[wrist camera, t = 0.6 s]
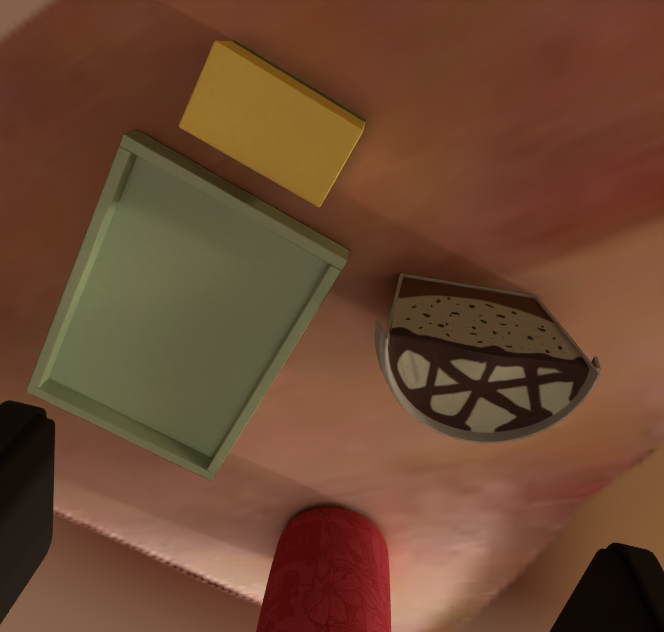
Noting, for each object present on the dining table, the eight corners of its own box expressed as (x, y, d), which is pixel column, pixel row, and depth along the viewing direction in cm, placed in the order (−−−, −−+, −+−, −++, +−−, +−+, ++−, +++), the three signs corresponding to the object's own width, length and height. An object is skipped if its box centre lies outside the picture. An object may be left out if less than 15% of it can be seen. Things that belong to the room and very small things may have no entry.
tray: (136, 129, 37) (123, 133, 35) (349, 250, 39) (347, 261, 37) (40, 377, 46) (25, 391, 44) (218, 464, 48) (211, 481, 46)
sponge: (234, 40, 34) (214, 39, 30) (366, 120, 35) (363, 130, 31) (200, 117, 36) (177, 127, 32) (326, 190, 37) (319, 208, 33)
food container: (363, 347, 42) (356, 431, 33) (378, 269, 39) (375, 337, 30) (532, 376, 42) (571, 468, 33) (558, 299, 39) (610, 376, 30)
